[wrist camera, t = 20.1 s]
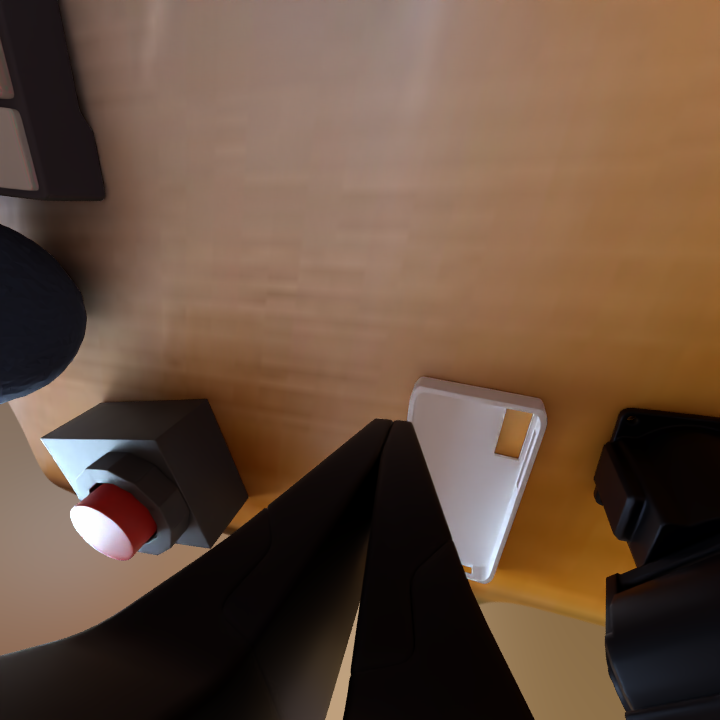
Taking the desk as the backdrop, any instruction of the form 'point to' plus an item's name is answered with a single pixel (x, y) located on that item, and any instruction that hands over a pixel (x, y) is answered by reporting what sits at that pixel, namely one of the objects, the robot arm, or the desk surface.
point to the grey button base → (156, 465)
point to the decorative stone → (35, 316)
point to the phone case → (474, 463)
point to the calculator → (42, 110)
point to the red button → (113, 522)
